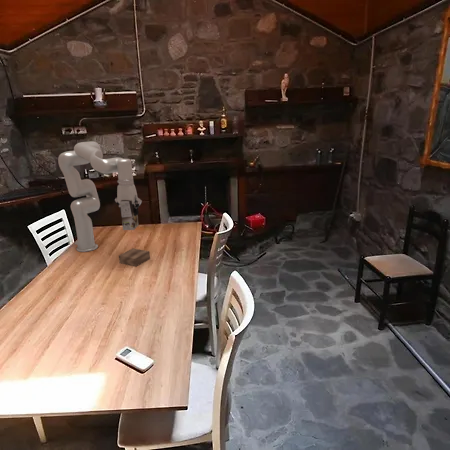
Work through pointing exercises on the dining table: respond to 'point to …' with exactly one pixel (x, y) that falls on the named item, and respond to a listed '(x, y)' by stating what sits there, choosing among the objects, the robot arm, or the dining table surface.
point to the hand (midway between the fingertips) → (129, 214)
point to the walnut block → (134, 257)
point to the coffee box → (128, 215)
